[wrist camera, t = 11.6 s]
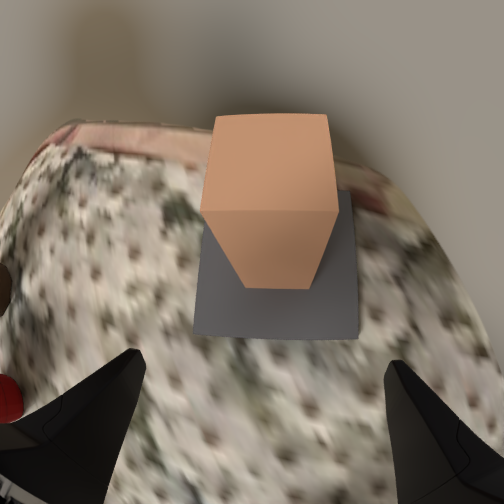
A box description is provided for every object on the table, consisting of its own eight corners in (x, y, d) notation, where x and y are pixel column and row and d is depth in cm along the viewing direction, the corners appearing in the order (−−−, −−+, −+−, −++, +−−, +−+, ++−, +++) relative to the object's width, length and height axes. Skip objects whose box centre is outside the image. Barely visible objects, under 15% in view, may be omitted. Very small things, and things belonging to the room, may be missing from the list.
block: (309, 289, 22) (338, 211, 10) (245, 287, 22) (199, 210, 10) (308, 230, 23) (326, 114, 11) (249, 229, 24) (216, 116, 12)
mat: (355, 339, 21) (358, 338, 20) (195, 334, 22) (192, 333, 22) (348, 195, 25) (349, 190, 24) (211, 194, 27) (209, 190, 26)
